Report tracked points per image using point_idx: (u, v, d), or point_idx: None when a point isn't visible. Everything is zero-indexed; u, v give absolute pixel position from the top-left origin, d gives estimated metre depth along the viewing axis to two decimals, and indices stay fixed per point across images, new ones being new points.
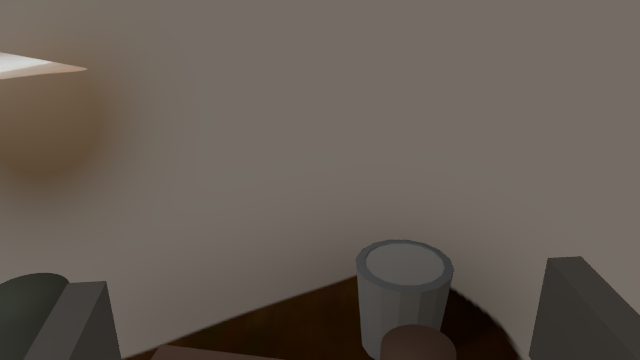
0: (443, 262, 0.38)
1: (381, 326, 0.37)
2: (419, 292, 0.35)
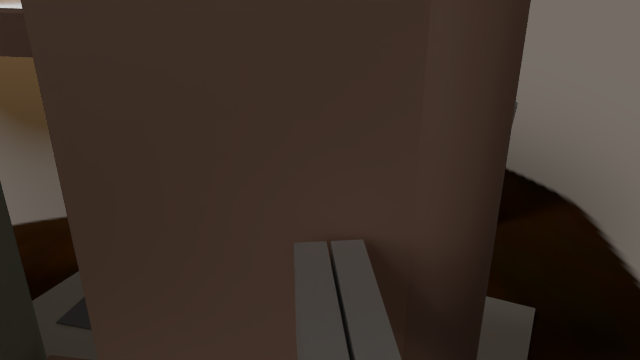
0: None
1: None
2: None
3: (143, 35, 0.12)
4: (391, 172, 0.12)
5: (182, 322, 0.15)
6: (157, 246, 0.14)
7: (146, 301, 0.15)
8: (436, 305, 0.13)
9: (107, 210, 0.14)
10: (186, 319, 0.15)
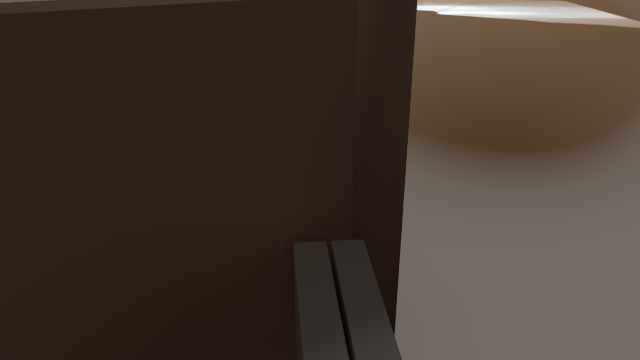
0: None
1: None
2: None
3: (50, 65, 0.09)
4: (333, 163, 0.12)
5: None
6: (84, 333, 0.11)
7: None
8: (378, 272, 0.14)
9: (4, 314, 0.10)
10: None
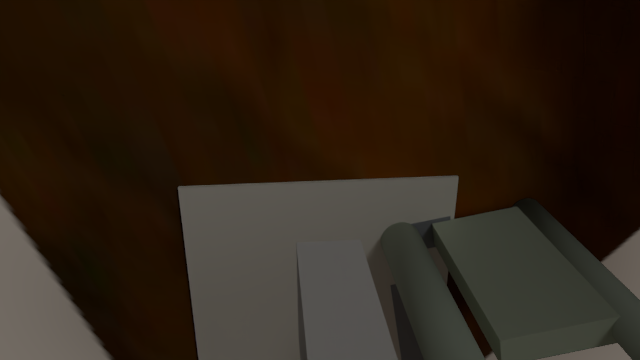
0: None
1: None
2: None
3: None
4: None
5: None
6: None
7: None
8: None
9: None
10: None
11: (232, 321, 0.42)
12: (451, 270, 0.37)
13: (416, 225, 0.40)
